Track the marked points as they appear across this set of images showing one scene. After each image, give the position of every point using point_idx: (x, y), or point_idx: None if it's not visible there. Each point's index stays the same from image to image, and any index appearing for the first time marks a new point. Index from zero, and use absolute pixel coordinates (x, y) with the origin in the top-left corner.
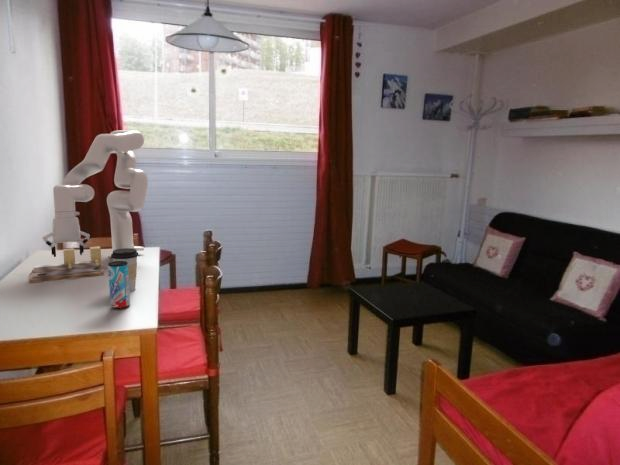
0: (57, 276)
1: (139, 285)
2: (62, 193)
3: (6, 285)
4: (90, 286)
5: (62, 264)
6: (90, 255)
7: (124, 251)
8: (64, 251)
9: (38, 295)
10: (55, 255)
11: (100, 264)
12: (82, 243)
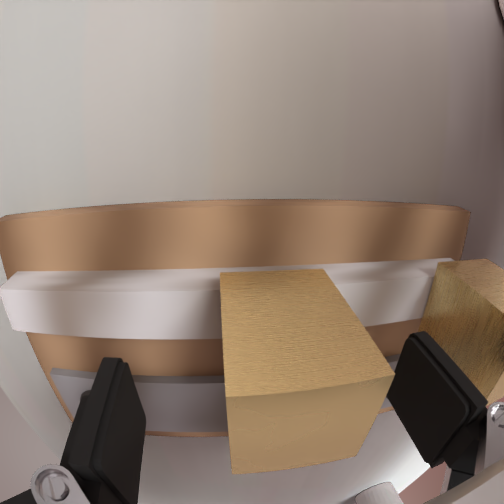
0: (191, 432)
1: (410, 470)
2: None
3: (11, 400)
4: (308, 483)
5: (203, 318)
6: (460, 319)
7: None
8: (245, 467)
9: (165, 500)
10: (142, 430)
11: (458, 253)
12: (468, 471)
